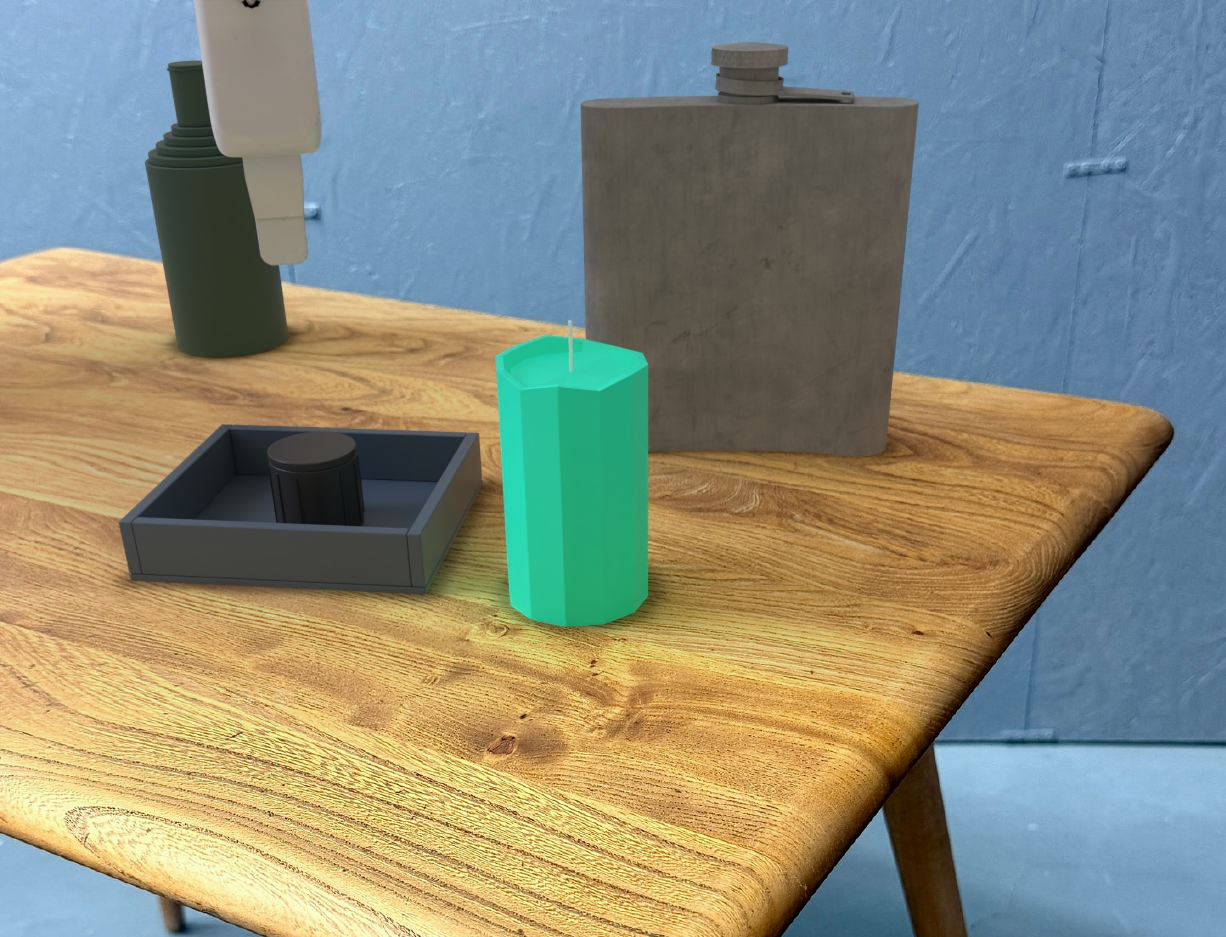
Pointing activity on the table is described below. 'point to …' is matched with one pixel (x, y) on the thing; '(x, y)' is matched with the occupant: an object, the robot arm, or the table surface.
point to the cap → (316, 480)
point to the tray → (305, 553)
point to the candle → (574, 478)
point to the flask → (210, 236)
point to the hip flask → (751, 255)
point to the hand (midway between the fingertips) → (282, 233)
